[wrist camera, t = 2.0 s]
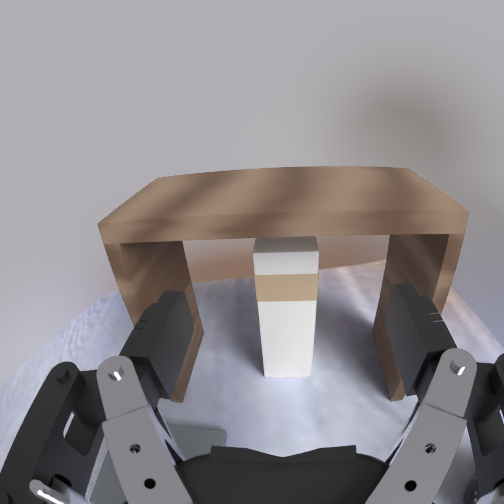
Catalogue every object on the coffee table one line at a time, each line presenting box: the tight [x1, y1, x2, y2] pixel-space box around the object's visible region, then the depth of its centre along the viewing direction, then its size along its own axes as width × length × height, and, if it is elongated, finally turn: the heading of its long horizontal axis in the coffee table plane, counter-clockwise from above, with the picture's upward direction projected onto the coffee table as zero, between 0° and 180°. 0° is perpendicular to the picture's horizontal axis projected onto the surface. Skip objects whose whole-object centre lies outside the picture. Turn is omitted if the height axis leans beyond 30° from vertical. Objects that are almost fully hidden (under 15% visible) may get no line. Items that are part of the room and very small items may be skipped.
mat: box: [90, 423, 227, 504], centre depth 18 cm, size 10×10×1 cm
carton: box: [253, 236, 319, 378], centre depth 25 cm, size 5×5×14 cm
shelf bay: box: [98, 166, 469, 403], centre depth 23 cm, size 22×10×18 cm, turn 84°
